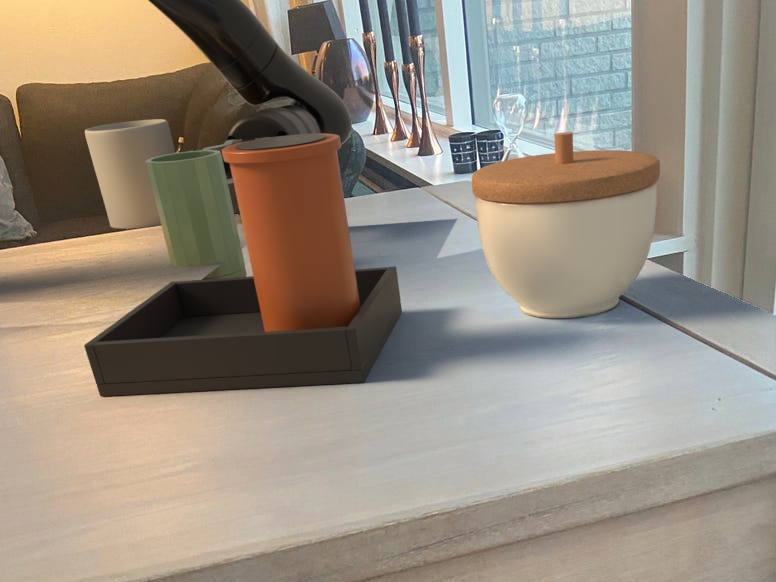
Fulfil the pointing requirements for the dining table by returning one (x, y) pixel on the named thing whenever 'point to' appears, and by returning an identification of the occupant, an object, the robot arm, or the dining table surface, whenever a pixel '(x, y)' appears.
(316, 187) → the pot
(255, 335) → the dark shallow tray
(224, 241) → the cup
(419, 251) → the dining table surface
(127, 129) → the mug
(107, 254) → the dining table surface
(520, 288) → the lidded bowl
